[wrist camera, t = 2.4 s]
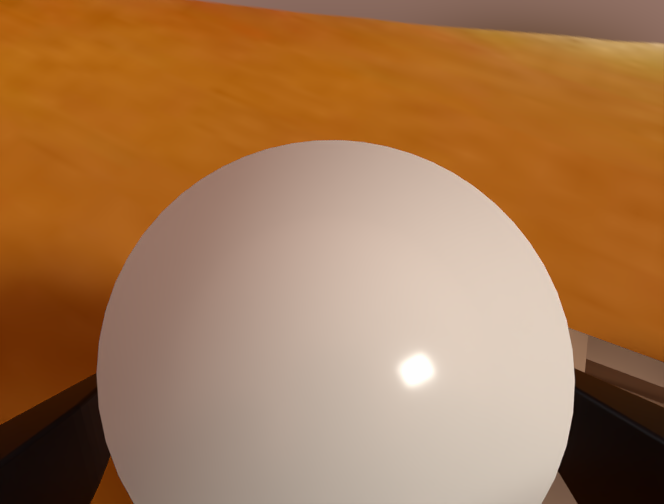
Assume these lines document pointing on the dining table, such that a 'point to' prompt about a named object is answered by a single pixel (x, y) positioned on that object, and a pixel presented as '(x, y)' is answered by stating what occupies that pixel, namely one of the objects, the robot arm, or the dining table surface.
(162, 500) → the white rounded tapered post
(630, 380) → the bay
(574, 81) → the dining table surface
